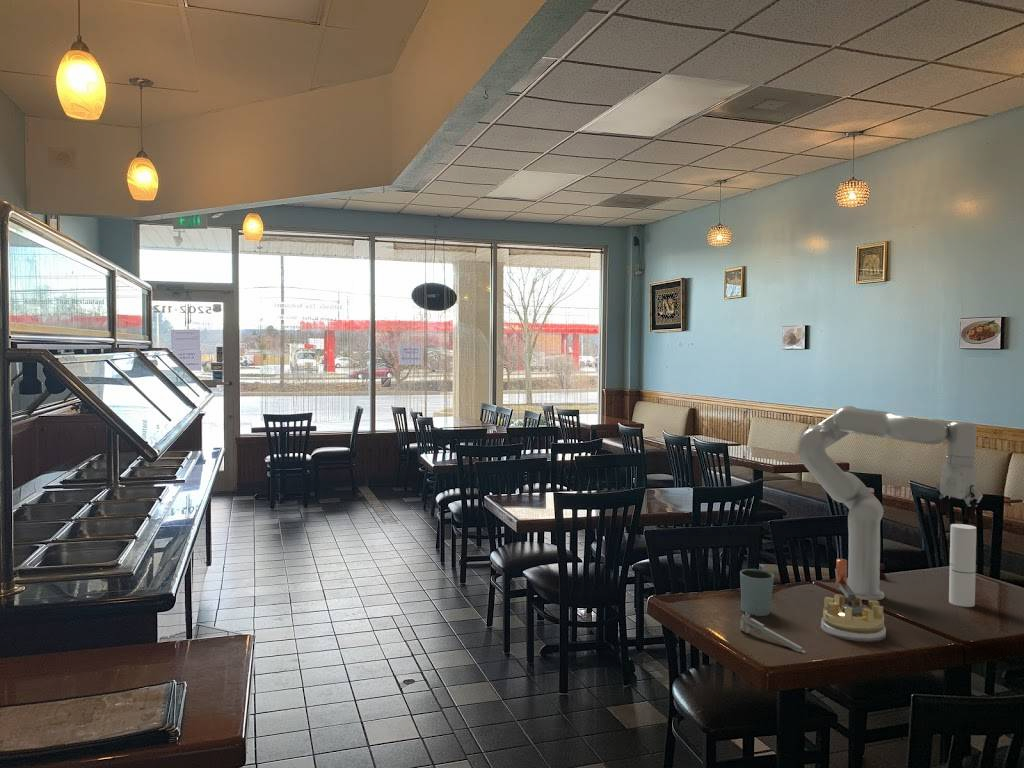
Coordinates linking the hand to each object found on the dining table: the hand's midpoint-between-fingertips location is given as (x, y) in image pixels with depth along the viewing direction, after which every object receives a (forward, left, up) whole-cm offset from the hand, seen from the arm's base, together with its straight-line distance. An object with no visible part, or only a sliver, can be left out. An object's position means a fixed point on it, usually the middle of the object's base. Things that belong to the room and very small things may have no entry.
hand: (956, 515), depth 235 cm
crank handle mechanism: (-8, -43, -27) cm, 51 cm away
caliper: (-13, -72, -30) cm, 79 cm away
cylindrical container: (-2, +8, -30) cm, 31 cm away
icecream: (-38, +13, -30) cm, 50 cm away
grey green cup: (-32, -55, -30) cm, 70 cm away
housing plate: (-6, -45, -30) cm, 54 cm away
